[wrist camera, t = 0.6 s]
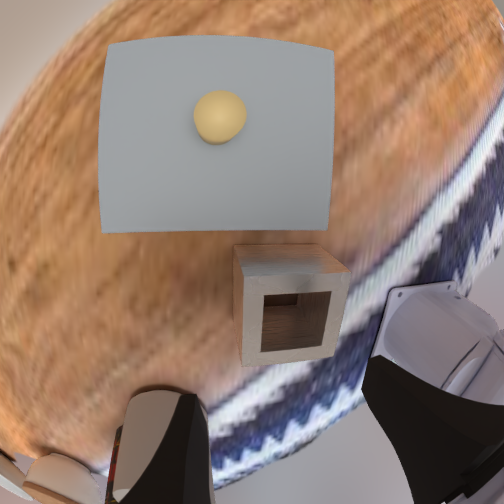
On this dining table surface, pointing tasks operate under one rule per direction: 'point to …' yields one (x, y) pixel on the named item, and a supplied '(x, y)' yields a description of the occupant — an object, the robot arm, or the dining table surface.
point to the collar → (291, 316)
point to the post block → (215, 135)
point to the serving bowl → (12, 478)
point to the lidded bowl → (61, 481)
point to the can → (145, 437)
